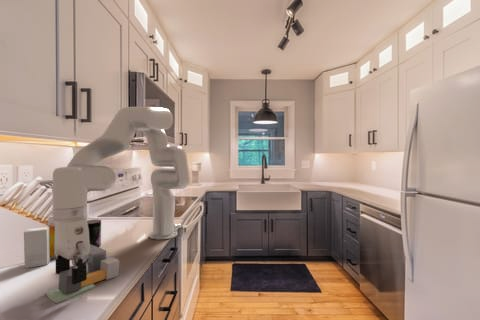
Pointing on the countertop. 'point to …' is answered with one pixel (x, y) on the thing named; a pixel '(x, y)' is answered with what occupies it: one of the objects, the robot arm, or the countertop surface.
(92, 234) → the supplement container
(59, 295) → the mat
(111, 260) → the plug
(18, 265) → the countertop surface
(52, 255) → the beer can
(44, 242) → the skincare box
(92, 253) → the block
